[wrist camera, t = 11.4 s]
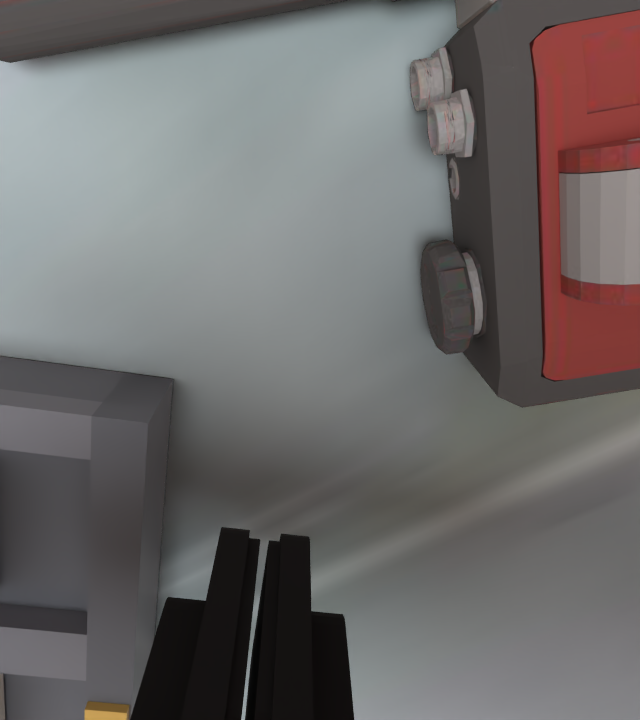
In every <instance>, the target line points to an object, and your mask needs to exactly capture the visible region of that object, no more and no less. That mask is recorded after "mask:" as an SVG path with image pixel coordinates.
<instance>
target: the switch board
mask: <svg viewBox="0 0 640 720" xmlns="http://www.w3.org/2000/svg"><path fill="white" fill-rule="evenodd" d="M172 390H173V379H169V378H161V377H154V376H146V375H139V374H131V373H123V372H116V371H108V370H101V369H93V368H85V367H78V366H70V365H63V364H55V363H47V362H40V361H32V360H25V359H17V358H10V357H2V356H0V673H3V682H4V704H5V720H130V718H131V715H132V711H133V708H134V705H135V701H136V698H137V695H138V691H139V688H140V685H141V681H142V678H143V675H144V671H145V668H146V665H147V661H148V658H149V655H150V651H151V648H152V645H153V641H154V636H155V623H156V609H157V595H158V582H159V568H160V554H161V541H162V527H163V513H164V499H165V486H166V472H167V458H168V445H169V431H170V417H171V404H172Z"/></svg>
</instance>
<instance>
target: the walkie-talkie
mask: <svg viewBox="0 0 640 720" xmlns="http://www.w3.org/2000/svg"><path fill="white" fill-rule="evenodd" d="M342 1H347V0H0V60H1V61H5V62H10V63H11V62H17V61H22V60H27V59H33V58H38V57H44V56H49V55H54V54H60V53H65V52H71V51H76V50H82V49H87V48H92V47H98V46H103V45H109V44H114V43H119V42H125V41H130V40H136V39H141V38H147V37H152V36H157V35H163V34H168V33H174V32H179V31H184V30H190V29H195V28H201V27H206V26H212V25H217V24H222V23H228V22H233V21H239V20H244V19H249V18H255V17H260V16H266V15H271V14H277V13H282V12H287V11H293V10H298V9H304V8H309V7H314V6H320V5H325V4H331V3H336V2H342ZM391 1H392V2H393V1H398V0H391ZM455 2H456V17H457V27H458V28H459V29H460V30H459V31H458V32H457V33H456V34H455V35H454V36H453V37H452V38H451V39H450V41H449V42H448V43H447V44H446V45H445V46H444V47H443V48H439V49H438V50H436V51H435V52H434V53H432V57H431V58H425V59H419V60H415V61H413V62H411V67H410V86H411V95H412V99H413V103H414V107H415V109H416V110H417V111H421V110H427V109H428V110H427V125H428V137H429V142H430V146H431V149H432V152H433V154H434V155H443V154H444V155H445V154H447V166H448V178H449V190H450V202H451V214H452V226H453V238H454V243H452V242H451V241H449V240H442V241H438V242H433V243H429V244H428V245H427V246H426V248H425V249H424V251H423V254H422V262H421V285H422V293H423V301H424V305H425V310H426V315H427V319H428V324H429V328H430V333H431V336H432V338H433V340H434V342H435V344H436V346H437V347H438V348H439V349H440V350H441V351H443V352H444V353H445V354H452V353H458V352H463V353H464V355H465V356H466V357H467V358H468V360H469V361H470V362H471V363H472V365H473V366H474V367H475V368H476V370H477V371H478V372H479V373H480V375H481V376H482V377H483V378H484V380H485V381H486V382H487V384H488V385H489V386H490V387H491V389H492V390H493V391H494V392H495V394H496V395H497V396H498V397H500V398H503V399H505V400H507V401H509V402H511V403H513V404H515V405H517V406H520V407H529V406H535V405H541V404H547V403H553V402H560V401H566V400H572V399H578V398H584V397H590V396H597V395H603V394H609V393H615V392H621V391H628V390H634V389H640V0H455Z"/></svg>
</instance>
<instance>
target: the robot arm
mask: <svg viewBox="0 0 640 720" xmlns="http://www.w3.org/2000/svg"><path fill="white" fill-rule="evenodd" d="M249 533H250V530H243V529H234V528H224V527H222V528H221V532H220V536H219V541H218V546H217V551H216V555H215V560H214V565H213V570H212V574H211V579H210V584H209V588H208V593H207V598H206V601H202V600H192V599H182V598H172V597H168V598H167V600H166V602H165V605H164V608H163V612H162V615H161V618H160V622H159V625H158V628H157V632H156V635H155V638H154V641H153V645H152V648H151V651H150V655H149V658H148V661H147V665H146V668H145V671H144V675H143V678H142V681H141V685H140V688H139V691H138V695H137V698H136V701H135V705H134V708H133V711H132V715H131V718H130V720H241V716H242V707H243V697H244V688H245V678H246V669H247V659H248V650H249V641H250V631H251V622H252V612H253V603H254V593H255V584H256V574H257V565H258V555H259V546H260V539H252V538H249ZM245 720H354V712H353V701H352V691H351V680H350V669H349V658H348V647H347V637H346V626H345V619H344V616H343V614H333V613H323V612H313V611H311V574H310V538H309V537H306V536H297V535H288V534H281V536H280V542H279V541H270V540H269V544H268V550H267V557H266V563H265V570H264V576H263V583H262V590H261V596H260V603H259V609H258V616H257V623H256V629H255V636H254V642H253V649H252V657H251V666H250V675H249V686H248V696H247V706H246V716H245Z"/></svg>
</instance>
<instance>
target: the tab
mask: <svg viewBox="0 0 640 720" xmlns="http://www.w3.org/2000/svg"><path fill="white" fill-rule="evenodd" d="M0 720H5V704H4V682H3V673H0Z"/></svg>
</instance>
